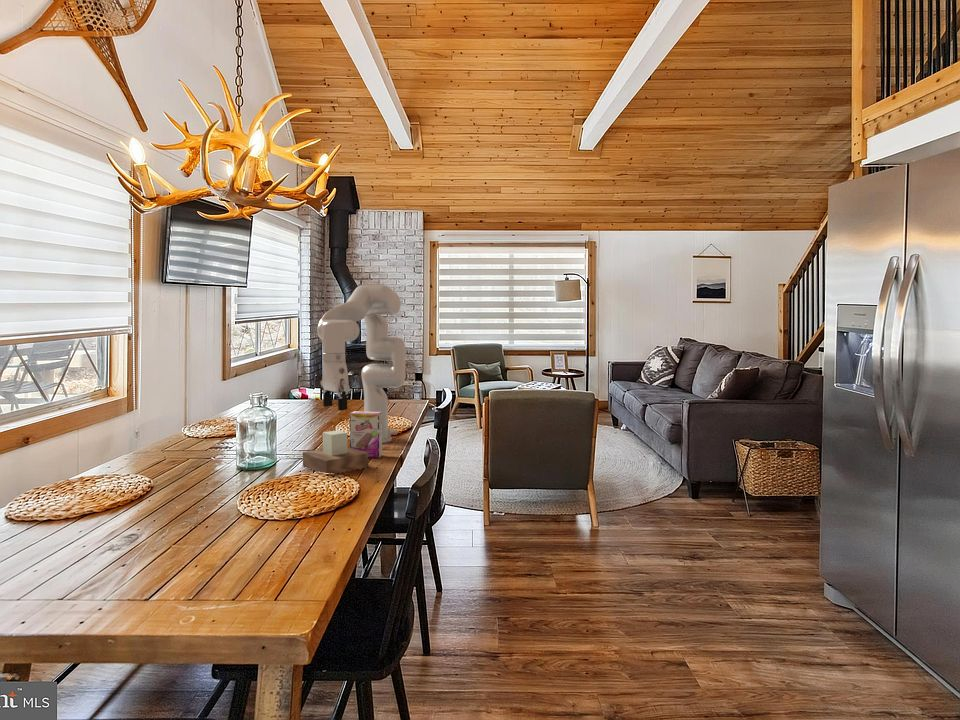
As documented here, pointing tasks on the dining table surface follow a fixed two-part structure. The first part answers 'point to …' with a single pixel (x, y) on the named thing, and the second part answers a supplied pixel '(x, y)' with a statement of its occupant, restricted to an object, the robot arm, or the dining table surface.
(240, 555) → the dining table surface
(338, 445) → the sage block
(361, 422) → the candy bar box
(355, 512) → the dining table surface
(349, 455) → the block
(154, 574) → the dining table surface
